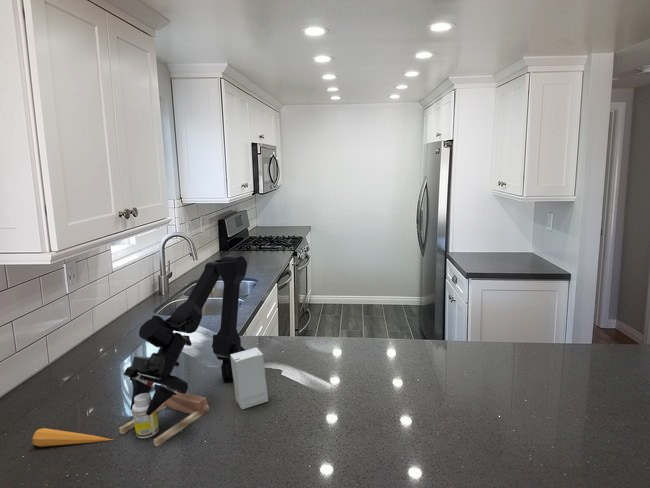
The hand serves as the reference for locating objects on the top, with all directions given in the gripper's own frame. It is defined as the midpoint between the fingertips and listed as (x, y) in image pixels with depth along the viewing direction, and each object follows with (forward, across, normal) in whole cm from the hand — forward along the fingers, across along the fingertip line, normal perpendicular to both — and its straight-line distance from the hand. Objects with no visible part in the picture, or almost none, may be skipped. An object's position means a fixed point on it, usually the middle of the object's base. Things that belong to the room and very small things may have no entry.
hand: (139, 412), depth 116 cm
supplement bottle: (+4, 0, +6) cm, 7 cm away
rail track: (-1, 0, +10) cm, 10 cm away
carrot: (+12, -14, -2) cm, 19 cm away
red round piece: (-8, -21, +18) cm, 28 cm away
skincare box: (-13, +16, +22) cm, 30 cm away
